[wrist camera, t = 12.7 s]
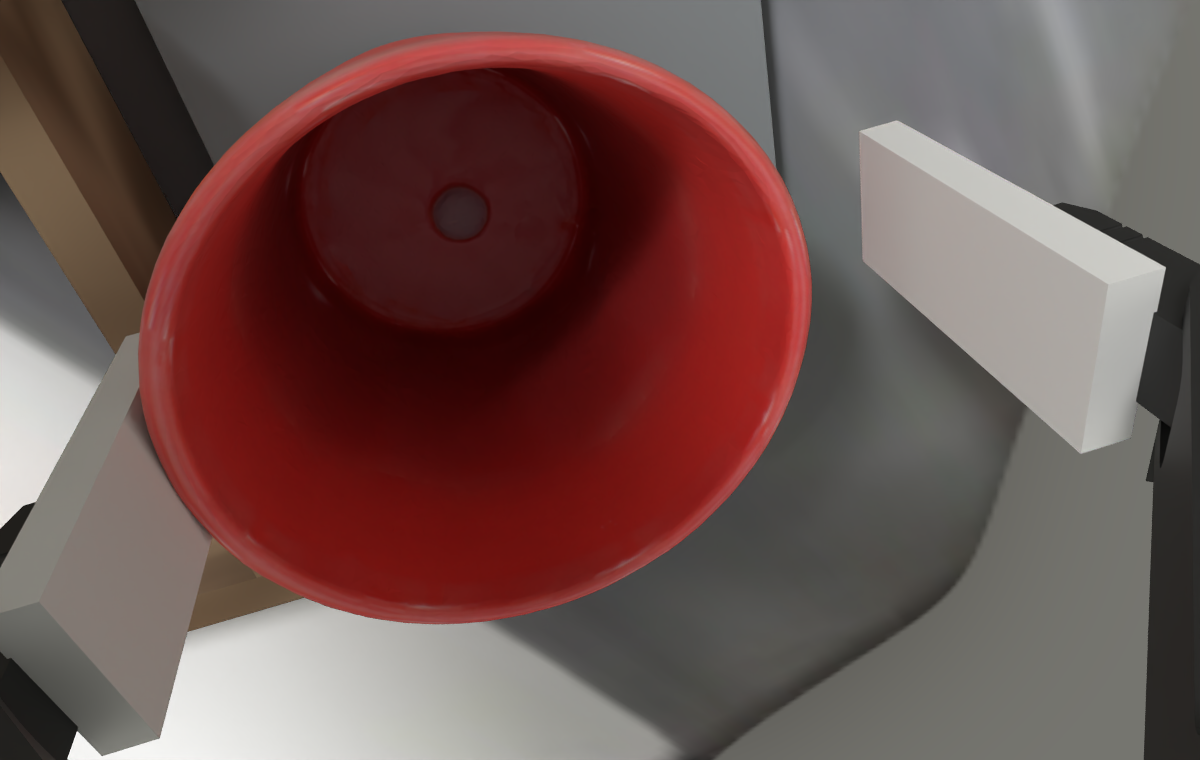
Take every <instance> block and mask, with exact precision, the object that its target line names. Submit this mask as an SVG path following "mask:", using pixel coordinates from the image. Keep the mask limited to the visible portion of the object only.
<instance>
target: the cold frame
mask: <svg viewBox="0 0 1200 760" xmlns="http://www.w3.org/2000/svg"><path fill="white" fill-rule="evenodd" d="M0 172H1V174H2V175H3V177H4V179H5V180H6V182H7V183H8V185H9V187H10V188H11V190H12V191H13V193H14V194H15V196H16V198H17V199H18V201H19V202H20V204H21V206H22V207H23V209H24V210H25V212H26V213H27V215H28V217H29V218H30V220H31V221H32V223H33V225H34V226H35V228H36V229H37V231H38V232H39V234H40V236H41V237H42V239H43V240H44V242H45V243H46V245H47V247H48V248H49V250H50V251H51V253H52V255H53V256H54V258H55V259H56V261H57V262H58V264H59V266H60V267H61V269H62V270H63V272H64V274H65V275H66V277H67V278H68V280H69V281H70V283H71V285H72V286H73V288H74V289H75V291H76V293H77V294H78V296H79V297H80V299H81V300H82V302H83V304H84V305H85V307H86V308H87V310H88V311H89V313H90V315H91V316H92V318H93V319H94V321H95V323H96V324H97V326H98V327H99V329H100V330H101V332H102V334H103V335H104V337H105V338H106V340H107V342H108V343H109V345H110V346H111V348H112V349H113V351H114V353H115V354H117V352H118V350H119V348H120V346H121V344H122V342H123V341H124V339H125V337H126V336H129V335H133V334H136V333H140V324H141V317H142V311H143V306H144V302H145V297H146V293H147V289H148V286H149V283H150V279H151V276H152V273H153V270H154V267H155V264H156V261H157V259H158V257H159V254H160V252H161V250H162V247H163V245H164V242H165V240H166V238H167V236H168V234H169V232H170V231H171V229H172V227H173V225H174V224H175V222H176V220H177V219H176V217H175V216H174V214H173V212H172V210H171V208H170V206H169V204H168V202H167V200H166V198H165V197H164V195H163V193H162V191H161V189H160V187H159V185H158V183H157V181H156V179H155V178H154V176H153V174H152V172H151V170H150V168H149V166H148V164H147V162H146V160H145V159H144V157H143V155H142V153H141V151H140V149H139V147H138V145H137V143H136V142H135V140H134V138H133V136H132V134H131V132H130V130H129V128H128V126H127V124H126V123H125V121H124V119H123V117H122V115H121V113H120V111H119V109H118V107H117V105H116V104H115V102H114V100H113V98H112V96H111V94H110V92H109V90H108V88H107V86H106V85H105V83H104V81H103V79H102V77H101V75H100V73H99V71H98V69H97V68H96V66H95V64H94V62H93V60H92V58H91V56H90V54H89V52H88V50H87V49H86V47H85V45H84V43H83V41H82V39H81V37H80V35H79V33H78V31H77V30H76V28H75V26H74V24H73V22H72V20H71V18H70V16H69V14H68V12H67V11H66V9H65V7H64V5H63V3H62V1H61V0H0ZM301 598H304V597H302V596H300V595H297V594H295V593H293V592H291V591H290V590H288V589H286V588H284V587H282V586H280V585H278V584H276V583H274V582H272V581H270V580H269V579H267V578H265V577H263V576H261V575H260V574H258V573H257V572H255V571H254V570H252V569H251V568H249V567H248V566H246V565H245V564H243V563H242V562H241V561H240V560H238V559H237V558H236V557H235V556H234V555H232V554H231V553H230V552H229V551H227V550H226V549H225V548H224V547H223V546H222V545H221V544H220V543H219V542H217V541H216V540H215V539H214V538H213V537H212V539H211V543H210V547H209V551H208V555H207V559H206V562H205V566H204V570H203V574H202V578H201V582H200V585H199V589H198V593H197V597H196V601H195V605H194V608H193V612H192V616H191V620H190V624H189V628H188V631H187V632H189V631H192V630H195V629H199V628H202V627H206V626H209V625H212V624H216V623H219V622H223V621H226V620H229V619H233V618H236V617H240V616H243V615H246V614H250V613H253V612H257V611H260V610H263V609H267V608H270V607H274V606H277V605H280V604H284V603H287V602H291V601H294V600H298V599H301Z"/></svg>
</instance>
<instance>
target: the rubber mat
mask: <svg viewBox="0 0 1200 760" xmlns="http://www.w3.org/2000/svg"><path fill="white" fill-rule="evenodd" d="M135 2H136V4H137V6H138V8H139V10H140V12H141V14H142V17H143V19H144V21H145V23H146V25H147V27H148V29H149V31H150V33H151V35H152V37H153V39H154V42H155V44H156V46H157V48H158V50H159V52H160V54H161V56H162V58H163V60H164V62H165V64H166V66H167V69H168V71H169V73H170V75H171V77H172V79H173V81H174V83H175V85H176V87H177V89H178V91H179V93H180V96H181V98H182V100H183V102H184V104H185V106H186V108H187V110H188V112H189V114H190V116H191V118H192V120H193V123H194V125H195V127H196V129H197V131H198V133H199V135H200V137H201V139H202V141H203V143H204V145H205V147H206V150H207V152H208V154H209V156H210V158H211V160H212V162H213V164H214V166H215V164H216V163H217V162H218V161H219V160H220V158H221V157H222V156H223V155H224V154H225V152H226V151H227V150H228V149H229V148H230V147H231V146H232V145H233V144H234V143H235V142H236V141H237V140H238V139H239V138H240V137H242V136H243V135H244V134H245V133H246V132H247V131H248V130H249V129H250V128H251V127H253V126H254V125H255V124H256V123H257V122H258V121H259V120H261V119H262V118H263V117H264V116H265V115H266V114H268V113H269V112H270V111H271V110H272V109H273V108H275V107H276V106H278V105H279V104H280V103H282V102H283V101H284V100H286V99H287V98H289V97H290V96H291V95H293V94H294V93H296V92H297V91H298V90H300V89H301V88H303V87H304V86H305V85H307V84H308V83H310V82H311V81H313V80H315V79H316V78H318V77H320V76H322V75H323V74H325V73H327V72H328V71H330V70H332V69H334V68H335V67H337V66H339V65H340V64H342V63H344V62H346V61H348V60H350V59H352V58H354V57H356V56H358V55H360V54H362V53H364V52H366V51H369V50H371V49H373V48H376V47H379V46H382V45H385V44H388V43H392V42H395V41H399V40H403V39H408V38H413V37H418V36H425V35H433V34H441V33H462V32H517V33H534V34H546V35H553V36H559V37H566V38H572V39H578V40H583V41H588V42H592V43H595V44H599V45H603V46H606V47H610V48H614V49H617V50H621V51H624V52H626V53H629V54H632V55H634V56H637V57H639V58H642V59H644V60H647V61H649V62H651V63H653V64H656V65H658V66H660V67H662V68H664V69H666V70H667V71H669V72H671V73H673V74H675V75H676V76H678V77H680V78H682V79H684V80H685V81H687V82H689V83H691V84H692V85H693V86H695V87H696V88H698V89H699V90H701V91H702V92H704V93H705V94H706V95H708V96H709V97H711V98H712V99H713V100H714V101H715V102H717V103H718V104H719V105H720V106H721V107H723V108H724V109H725V110H726V111H727V112H728V113H729V114H731V115H732V116H733V117H734V118H735V119H736V120H737V121H738V122H739V123H740V124H741V125H742V126H743V127H744V128H745V129H746V130H747V131H748V132H749V133H750V134H751V136H752V137H753V138H754V139H755V140H756V142H757V143H758V144H759V145H760V147H761V148H762V149H763V151H764V152H765V153H766V154H767V156H768V157H769V159H770V160H771V162H772V164H773V165H774V167H775V168H776V161H775V150H774V139H773V128H772V117H771V106H770V96H769V85H768V74H767V63H766V52H765V41H764V31H763V20H762V9H761V0H135Z"/></svg>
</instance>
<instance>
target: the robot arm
mask: <svg viewBox="0 0 1200 760" xmlns="http://www.w3.org/2000/svg"><path fill="white" fill-rule="evenodd" d="M859 142H860V179H861V215H862V251H863V261H864V262H865V263H866V264H867V265H868V266H869V267H870V268H872V269H873V270H874V271H875V272H876V273H877V274H878V275H879V276H881V277H882V278H883V279H884V280H885V281H886V282H887V283H888V284H890V285H891V286H892V287H893V288H894V289H895V290H896V291H897V292H899V293H900V294H901V295H902V296H903V297H904V298H905V299H906V300H908V301H909V302H910V303H911V304H912V305H913V306H914V307H916V308H917V309H918V310H919V311H920V312H921V313H922V314H923V315H925V316H926V317H927V318H928V319H929V320H930V321H931V322H932V323H934V324H935V325H936V326H937V327H938V328H939V329H940V330H941V331H943V332H944V333H945V334H946V335H947V336H948V337H949V338H951V339H952V340H953V341H954V342H955V343H956V344H957V345H958V346H960V347H961V348H962V349H963V350H964V351H965V352H966V353H967V354H969V355H970V356H971V357H972V358H973V359H974V360H975V361H976V362H978V363H979V364H980V365H981V366H982V367H983V368H984V369H985V370H987V371H988V372H989V373H990V374H991V375H992V376H993V377H995V378H996V379H997V380H998V381H999V382H1000V383H1001V384H1002V385H1004V386H1005V387H1006V388H1007V389H1008V390H1009V391H1010V392H1011V393H1013V394H1014V395H1015V396H1016V397H1017V398H1018V399H1019V400H1020V401H1022V402H1023V403H1024V404H1025V405H1026V406H1027V407H1028V408H1030V409H1031V410H1032V411H1033V412H1034V413H1035V414H1037V416H1039V417H1040V418H1041V419H1042V420H1043V421H1044V422H1045V423H1047V424H1048V425H1049V426H1050V427H1051V428H1052V429H1053V430H1054V431H1055V432H1057V433H1058V434H1059V435H1060V436H1061V437H1062V438H1064V440H1066V441H1067V442H1068V443H1069V444H1070V445H1071V446H1073V447H1074V448H1075V449H1076V450H1077V451H1078V452H1079V453H1080V454H1082V453H1086V452H1089V451H1092V450H1095V449H1099V448H1102V447H1105V446H1108V445H1112V444H1114V443H1118V442H1121V441H1125V440H1128V439H1131V436H1132V431H1133V426H1134V421H1135V416H1136V411H1137V406H1138V403H1139V404H1140V405H1141V406H1143V407H1144V408H1145V409H1147V410H1148V411H1149V412H1151V413H1152V414H1154V415H1155V416H1156V417H1157V418H1159V419H1160V420H1159V424H1158V429H1157V433H1156V438H1155V443H1154V447H1153V451H1152V456H1151V460H1150V464H1149V469H1148V473H1147V478H1146V481H1149V482H1153V483H1154V484H1153V511H1152V540H1151V570H1150V597H1149V599H1150V600H1149V627H1148V657H1147V684H1146V713H1145V714H1146V715H1145V741H1144V742H1145V743H1144V760H1200V264H1198V263H1196V262H1194V261H1192V260H1190V259H1188V258H1186V257H1184V256H1183V255H1181V254H1179V253H1177V252H1175V251H1173V250H1171V249H1169V248H1167V247H1165V246H1163V245H1161V244H1160V243H1158V242H1156V241H1154V240H1152V239H1150V238H1148V237H1147V238H1143V236H1142V234H1140V233H1138V232H1136V231H1135V230H1132V229H1131V228H1129V227H1122V224H1121V223H1119V222H1117V221H1115V220H1113V219H1111V218H1110V217H1108V216H1106V215H1104V214H1102V213H1100V212H1098V211H1096V210H1091V209H1087V208H1083V207H1079V206H1075V205H1070V204H1066V203H1059V204H1056V205H1051V204H1049V203H1047V202H1046V201H1044V200H1042V199H1040V198H1038V197H1036V196H1035V195H1033V194H1031V193H1029V192H1027V191H1025V190H1024V189H1022V188H1020V187H1018V186H1016V185H1014V184H1013V183H1011V182H1009V181H1007V180H1005V179H1004V178H1002V177H1000V176H998V175H996V174H994V173H993V172H991V171H989V170H987V169H985V168H983V167H982V166H980V165H978V164H976V163H974V162H972V161H971V160H969V159H967V158H965V157H963V156H962V155H960V154H958V153H956V152H954V151H952V150H951V149H949V148H947V147H945V146H943V145H941V144H940V143H938V142H936V141H934V140H932V139H930V138H929V137H927V136H925V135H923V134H921V133H919V132H918V131H916V130H914V129H912V128H910V127H909V126H907V125H905V124H903V123H901V122H899V121H898V120H897V121H894V122H890V123H887V124H883V125H879V126H876V127H872V128H869V129H865V130H862V131H859ZM139 334H140V333H136V334H133V335H129V336H126V337H125V339H124V341H123V342H122V344H121V346H120V348H119V350H118V352H117V354H116V355H115V357H114V359H113V361H112V363H111V365H110V366H109V368H108V370H107V372H106V374H105V376H104V378H103V379H102V381H101V383H100V385H99V387H98V389H97V390H96V392H95V394H94V396H93V398H92V400H91V402H90V403H89V405H88V407H87V409H86V411H85V413H84V414H83V416H82V418H81V420H80V422H79V424H78V425H77V427H76V429H75V431H74V433H73V435H72V437H71V438H70V440H69V442H68V444H67V446H66V448H65V449H64V451H63V453H62V455H61V457H60V459H59V461H58V462H57V464H56V466H55V468H54V470H53V472H52V473H51V475H50V477H49V479H48V481H47V483H46V484H45V486H44V488H43V490H42V492H41V494H40V496H39V497H38V499H37V501H36V502H35V503H31V504H28V505H25V506H23V507H22V508H21V509H20V510H19V511H18V512H17V513H16V514H15V515H14V516H13V517H12V518H11V519H10V520H9V521H8V522H7V523H6V524H5V525H4V526H3V527H2V528H1V529H0V760H68V759H67V757H68V755H69V752H70V749H71V746H72V743H73V741H74V738H75V735H76V732H77V731H78V732H79V733H80V734H81V735H82V736H83V737H84V738H85V739H86V740H87V741H88V742H89V743H90V744H91V745H92V746H93V747H94V748H95V749H96V750H97V751H98V752H99V753H100V755H101V756H104V755H107V754H110V753H113V752H117V751H120V750H123V749H126V748H130V747H133V746H136V745H139V744H143V743H146V742H149V741H152V740H156V739H159V738H160V735H161V731H162V727H163V724H164V720H165V716H166V712H167V708H168V704H169V700H170V697H171V693H172V689H173V685H174V681H175V677H176V674H177V670H178V666H179V662H180V658H181V654H182V651H183V647H184V643H185V639H186V635H187V631H188V628H189V624H190V620H191V616H192V612H193V608H194V605H195V601H196V597H197V593H198V589H199V585H200V582H201V578H202V574H203V570H204V566H205V562H206V559H207V555H208V551H209V547H210V543H211V539H212V535H211V534H210V533H209V532H208V531H207V530H206V529H205V528H204V526H203V525H202V524H201V523H200V522H199V521H198V520H197V519H196V518H195V517H194V515H193V514H192V513H191V511H190V510H189V509H188V508H187V506H186V505H185V504H184V502H183V501H182V500H181V498H180V497H179V496H178V494H177V493H176V491H175V489H174V487H173V486H172V484H171V482H170V480H169V478H168V476H167V474H166V472H165V470H164V468H163V466H162V464H161V462H160V460H159V457H158V455H157V452H156V450H155V448H154V445H153V442H152V440H151V437H150V434H149V432H148V428H147V424H146V420H145V416H144V412H143V407H142V402H141V396H140V388H139V367H138V346H139Z"/></svg>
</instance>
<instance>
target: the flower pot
mask: <svg viewBox="0 0 1200 760" xmlns="http://www.w3.org/2000/svg"><path fill="white" fill-rule="evenodd" d="M811 306H812V278H811V268H810V260H809V255H808V249H807V244H806V240H805V236H804V233H803V229H802V226H801V222H800V218H799V216H798V213H797V211H796V208H795V205H794V203H793V200H792V198H791V196H790V194H789V192H788V190H787V187H786V185H785V183H784V181H783V179H782V177H781V176H780V174H779V173H778V171H777V170H776V168H775V167H774V165H773V164H772V162H771V160H770V159H769V157H768V156H767V154H766V153H765V152H764V151H763V149H762V148H761V147H760V145H759V144H758V143H757V142H756V140H755V139H754V138H753V137H752V136H751V134H750V133H749V132H748V131H747V130H746V129H745V128H744V127H743V126H742V125H741V124H740V123H739V122H738V121H737V120H736V119H735V118H734V117H733V116H732V115H731V114H729V113H728V112H727V111H726V110H725V109H724V108H723V107H721V106H720V105H719V104H718V103H717V102H715V101H714V100H713V99H712V98H711V97H709V96H708V95H706V94H705V93H704V92H702V91H701V90H699V89H698V88H696V87H695V86H693V85H692V84H691V83H689V82H687V81H685V80H684V79H682V78H680V77H678V76H676V75H675V74H673V73H671V72H669V71H667V70H666V69H664V68H662V67H660V66H658V65H656V64H653V63H651V62H649V61H647V60H644V59H642V58H639V57H637V56H634V55H632V54H629V53H626V52H624V51H621V50H617V49H614V48H610V47H606V46H603V45H599V44H595V43H592V42H588V41H583V40H578V39H572V38H566V37H559V36H553V35H546V34H534V33H517V32H462V33H441V34H433V35H425V36H418V37H413V38H408V39H403V40H399V41H395V42H392V43H388V44H385V45H382V46H379V47H376V48H373V49H371V50H369V51H366V52H364V53H362V54H360V55H358V56H356V57H354V58H352V59H350V60H348V61H346V62H344V63H342V64H340V65H339V66H337V67H335V68H334V69H332V70H330V71H328V72H327V73H325V74H323V75H322V76H320V77H318V78H316V79H315V80H313V81H311V82H310V83H308V84H307V85H305V86H304V87H303V88H301V89H300V90H298V91H297V92H296V93H294V94H293V95H291V96H290V97H289V98H287V99H286V100H284V101H283V102H282V103H280V104H279V105H278V106H276V107H275V108H273V109H272V110H271V111H270V112H269V113H268V114H266V115H265V116H264V117H263V118H262V119H261V120H259V121H258V122H257V123H256V124H255V125H254V126H253V127H251V128H250V129H249V130H248V131H247V132H246V133H245V134H244V135H243V136H242V137H240V138H239V139H238V140H237V141H236V142H235V143H234V144H233V145H232V146H231V147H230V148H229V149H228V150H227V151H226V152H225V154H224V155H223V156H222V157H221V158H220V160H219V161H218V162H217V163H216V164H215V166H214V167H213V168H212V169H211V170H210V171H209V173H208V174H207V175H206V176H205V177H204V179H203V180H202V181H201V183H200V184H199V185H198V187H197V188H196V189H195V191H194V192H193V194H192V195H191V197H190V198H189V200H188V202H187V203H186V205H185V206H184V208H183V210H182V211H181V213H180V215H179V217H178V218H177V220H176V222H175V224H174V225H173V227H172V229H171V231H170V232H169V234H168V236H167V238H166V240H165V242H164V245H163V247H162V250H161V252H160V254H159V257H158V259H157V261H156V264H155V267H154V270H153V273H152V276H151V279H150V283H149V286H148V289H147V293H146V297H145V302H144V306H143V311H142V317H141V324H140V334H139V346H138V367H139V388H140V396H141V402H142V407H143V412H144V416H145V420H146V424H147V428H148V432H149V434H150V437H151V440H152V442H153V445H154V448H155V450H156V452H157V455H158V457H159V460H160V462H161V464H162V466H163V468H164V470H165V472H166V474H167V476H168V478H169V480H170V482H171V484H172V486H173V487H174V489H175V491H176V493H177V494H178V496H179V497H180V498H181V500H182V501H183V502H184V504H185V505H186V506H187V508H188V509H189V510H190V511H191V513H192V514H193V515H194V517H195V518H196V519H197V520H198V521H199V522H200V523H201V524H202V525H203V526H204V528H205V529H206V530H207V531H208V532H209V533H210V534H211V535H212V537H213V538H214V539H215V540H216V541H217V542H219V543H220V544H221V545H222V546H223V547H224V548H225V549H226V550H227V551H229V552H230V553H231V554H232V555H234V556H235V557H236V558H237V559H238V560H240V561H241V562H242V563H243V564H245V565H246V566H248V567H249V568H251V569H252V570H254V571H255V572H257V573H258V574H260V575H261V576H263V577H265V578H267V579H269V580H270V581H272V582H274V583H276V584H278V585H280V586H282V587H284V588H286V589H288V590H290V591H291V592H293V593H295V594H297V595H300V596H302V597H304V598H307V599H309V600H312V601H315V602H317V603H320V604H322V605H325V606H328V607H331V608H335V609H338V610H342V611H346V612H349V613H352V614H356V615H361V616H365V617H369V618H375V619H381V620H389V621H396V622H404V623H420V624H460V623H472V622H484V621H491V620H497V619H503V618H509V617H514V616H519V615H524V614H528V613H532V612H536V611H540V610H544V609H548V608H551V607H554V606H558V605H561V604H564V603H567V602H570V601H573V600H575V599H578V598H581V597H583V596H586V595H588V594H591V593H593V592H596V591H598V590H600V589H602V588H605V587H607V586H609V585H611V584H613V583H614V582H616V581H618V580H620V579H622V578H624V577H626V576H628V575H629V574H631V573H633V572H635V571H636V570H638V569H640V568H642V567H644V566H645V565H647V564H649V563H650V562H652V561H653V560H655V559H656V558H658V557H659V556H661V555H662V554H664V553H666V552H668V551H669V550H670V549H672V548H673V547H674V546H676V545H677V544H678V543H680V542H681V541H682V540H684V539H685V538H686V537H687V536H688V535H689V534H691V533H692V532H693V531H694V530H696V529H697V528H698V527H699V526H700V525H701V524H702V523H703V522H704V521H706V520H707V519H708V518H709V517H710V516H711V515H712V514H713V513H714V512H715V511H716V510H717V509H718V508H719V507H720V506H721V504H722V503H723V502H724V501H725V500H726V499H727V498H728V497H729V496H730V495H731V494H732V493H733V491H734V490H735V489H736V488H737V487H738V485H739V484H740V483H741V482H742V481H743V479H744V478H745V477H746V475H747V474H748V473H749V471H750V470H751V469H752V468H753V466H754V465H755V463H756V462H757V461H758V459H759V458H760V456H761V454H762V453H763V451H764V450H765V448H766V447H767V445H768V444H769V442H770V440H771V438H772V436H773V434H774V432H775V431H776V429H777V427H778V425H779V423H780V421H781V419H782V417H783V415H784V413H785V410H786V408H787V405H788V403H789V400H790V398H791V396H792V393H793V390H794V387H795V384H796V381H797V378H798V374H799V371H800V368H801V364H802V361H803V357H804V353H805V349H806V344H807V338H808V332H809V326H810V320H811Z"/></svg>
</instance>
